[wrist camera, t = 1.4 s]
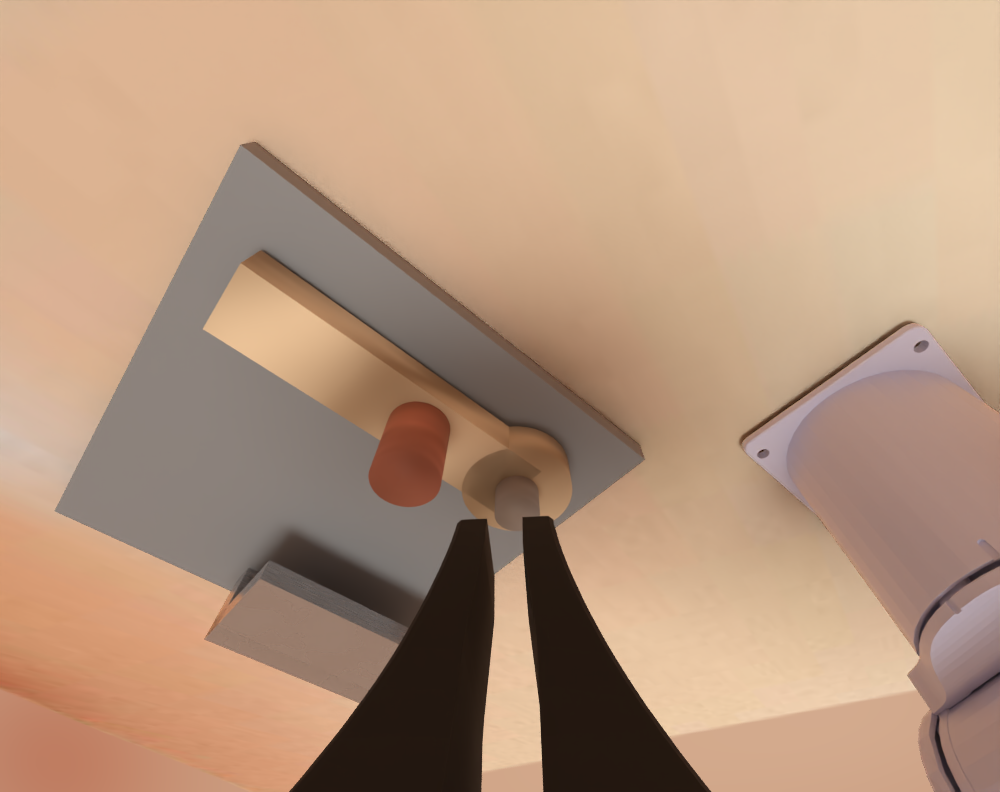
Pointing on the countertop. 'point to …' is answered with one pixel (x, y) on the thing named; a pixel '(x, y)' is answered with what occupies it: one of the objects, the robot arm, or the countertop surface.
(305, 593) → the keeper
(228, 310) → the latch
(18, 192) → the countertop surface
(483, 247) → the countertop surface
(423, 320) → the board
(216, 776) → the countertop surface
